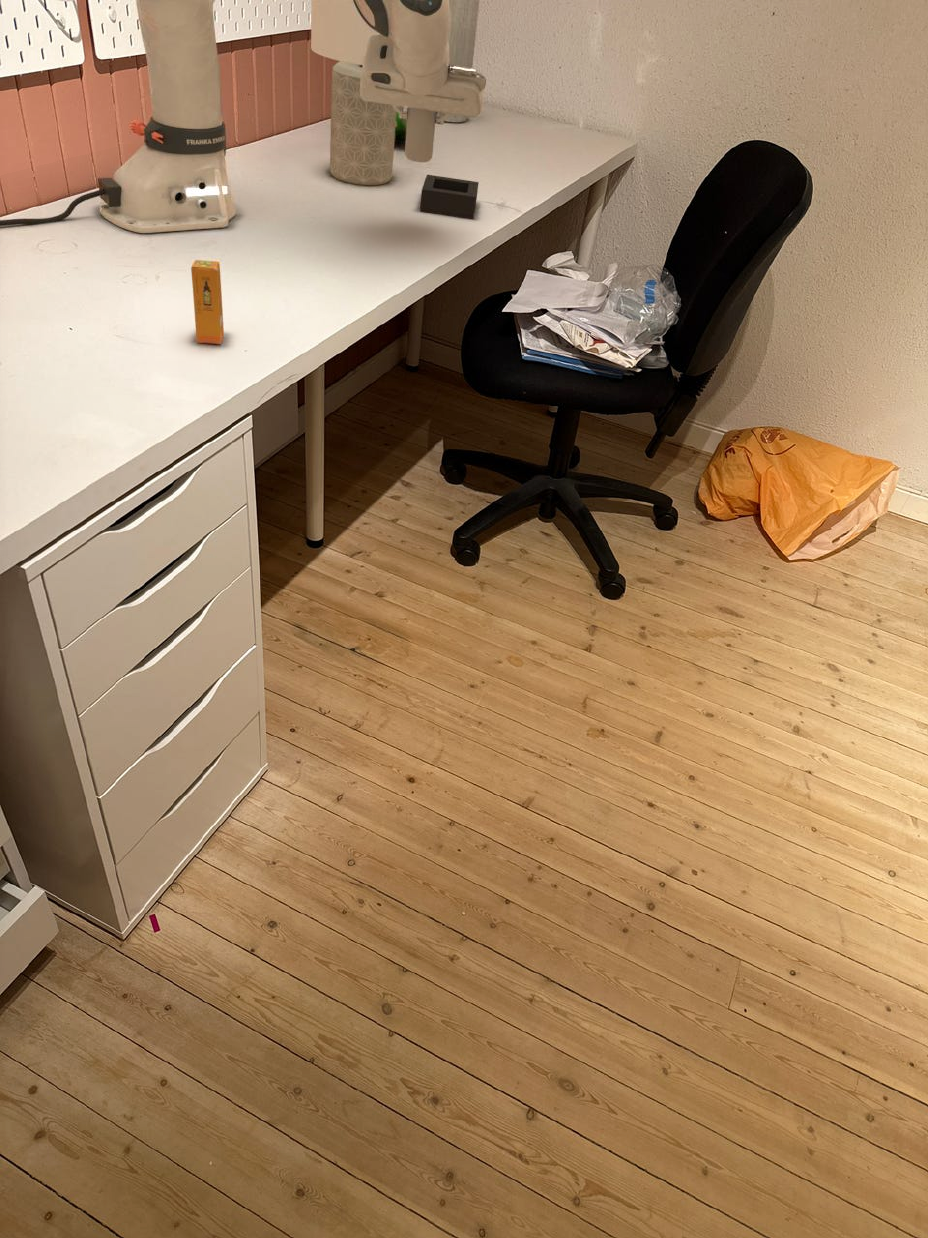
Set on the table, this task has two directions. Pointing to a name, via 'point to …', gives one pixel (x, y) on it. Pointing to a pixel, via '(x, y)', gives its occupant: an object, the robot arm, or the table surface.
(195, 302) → the supplement box
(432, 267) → the table surface
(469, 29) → the vase
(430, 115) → the beverage can
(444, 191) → the box socket
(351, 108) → the lamp
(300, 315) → the table surface
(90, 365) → the table surface
